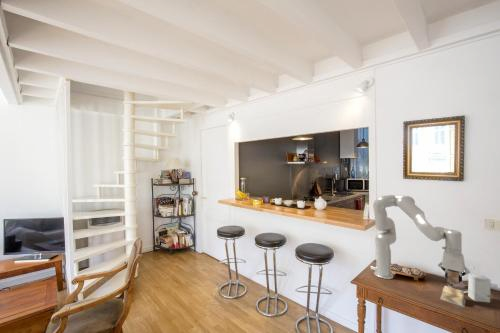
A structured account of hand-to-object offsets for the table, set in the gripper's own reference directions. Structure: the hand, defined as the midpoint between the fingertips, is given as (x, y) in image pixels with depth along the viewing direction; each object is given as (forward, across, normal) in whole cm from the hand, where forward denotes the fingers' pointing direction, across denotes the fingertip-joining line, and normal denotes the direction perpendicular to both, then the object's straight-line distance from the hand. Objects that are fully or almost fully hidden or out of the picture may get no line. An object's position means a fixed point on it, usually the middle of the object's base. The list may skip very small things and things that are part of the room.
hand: (453, 280), depth 141 cm
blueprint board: (+13, 0, 0) cm, 13 cm away
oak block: (+12, 0, 0) cm, 12 cm away
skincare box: (+13, +11, +12) cm, 21 cm away
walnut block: (+1, 0, 0) cm, 1 cm away
